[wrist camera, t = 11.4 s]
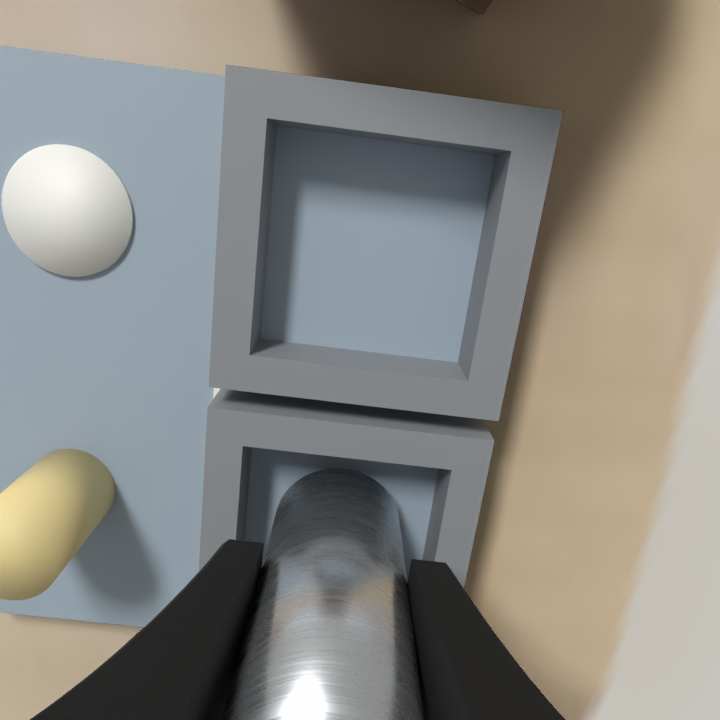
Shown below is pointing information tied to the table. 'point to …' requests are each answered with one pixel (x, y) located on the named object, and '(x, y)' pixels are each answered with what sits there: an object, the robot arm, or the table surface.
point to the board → (244, 313)
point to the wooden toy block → (476, 4)
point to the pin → (330, 610)
